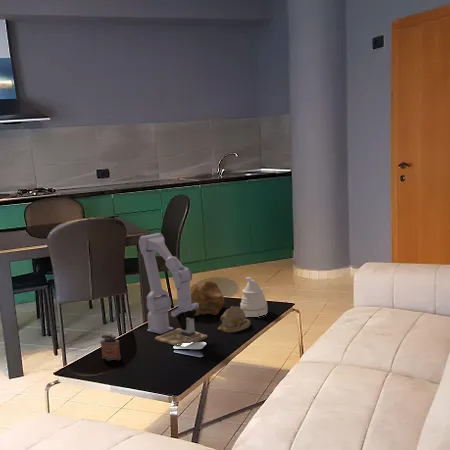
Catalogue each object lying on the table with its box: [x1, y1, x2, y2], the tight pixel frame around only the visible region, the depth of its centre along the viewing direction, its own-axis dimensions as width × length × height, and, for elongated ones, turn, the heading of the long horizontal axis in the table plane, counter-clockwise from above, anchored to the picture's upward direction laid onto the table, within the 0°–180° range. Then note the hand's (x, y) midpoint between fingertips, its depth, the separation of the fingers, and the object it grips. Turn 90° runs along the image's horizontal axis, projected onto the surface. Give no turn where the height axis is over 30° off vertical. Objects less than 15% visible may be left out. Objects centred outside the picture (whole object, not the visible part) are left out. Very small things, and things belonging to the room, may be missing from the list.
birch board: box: [154, 327, 208, 346], centre depth 239 cm, size 18×14×3 cm
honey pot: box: [239, 276, 269, 318], centre depth 266 cm, size 13×13×18 cm
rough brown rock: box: [190, 279, 225, 317], centre depth 273 cm, size 23×17×15 cm
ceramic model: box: [217, 305, 251, 333], centre depth 249 cm, size 14×11×10 cm
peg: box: [180, 317, 196, 337], centre depth 235 cm, size 3×5×7 cm, turn 49°
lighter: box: [99, 334, 122, 361], centre depth 221 cm, size 8×3×10 cm, turn 71°
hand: (186, 328), depth 236 cm, fingers closed on peg, 3 cm apart
